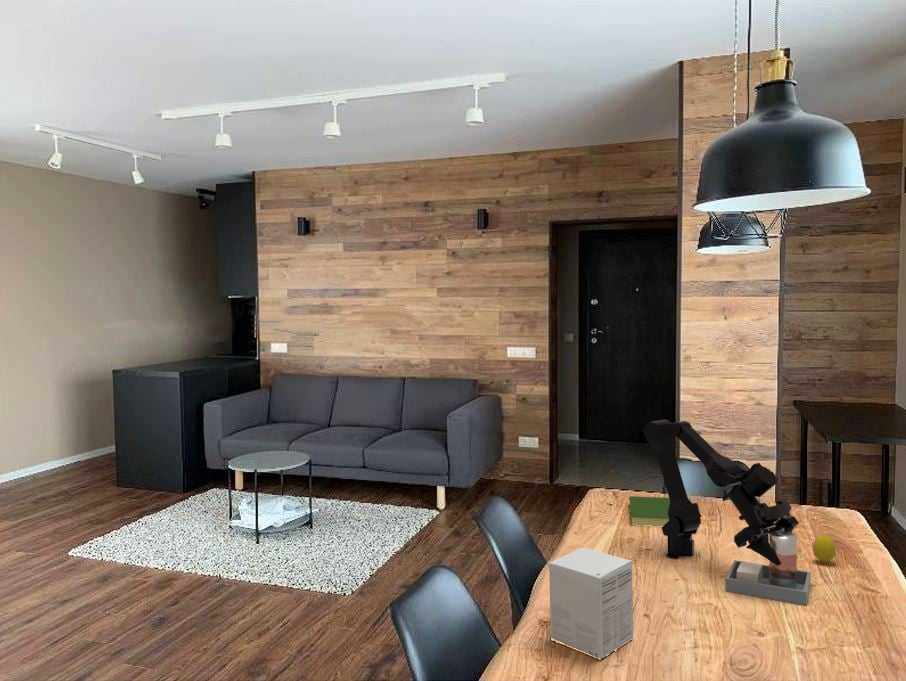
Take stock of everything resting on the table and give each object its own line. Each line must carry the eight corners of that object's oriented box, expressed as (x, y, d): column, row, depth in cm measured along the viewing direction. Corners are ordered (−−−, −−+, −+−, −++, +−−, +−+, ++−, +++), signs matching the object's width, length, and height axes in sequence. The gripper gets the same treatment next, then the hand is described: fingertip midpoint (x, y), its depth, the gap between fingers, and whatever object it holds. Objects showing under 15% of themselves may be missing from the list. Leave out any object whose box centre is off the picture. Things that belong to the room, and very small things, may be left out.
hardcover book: (691, 530, 223) (691, 518, 223) (631, 527, 228) (631, 516, 227) (683, 508, 248) (683, 497, 248) (629, 505, 252) (629, 495, 252)
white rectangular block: (736, 586, 175) (736, 571, 175) (741, 575, 182) (741, 560, 182) (758, 590, 173) (758, 574, 173) (762, 579, 180) (762, 564, 179)
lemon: (838, 567, 189) (838, 538, 188) (816, 566, 190) (816, 537, 189) (831, 559, 194) (831, 531, 194) (810, 558, 195) (810, 530, 195)
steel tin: (777, 592, 168) (778, 539, 168) (764, 582, 175) (764, 531, 174) (801, 591, 169) (802, 538, 168) (787, 581, 175) (787, 530, 174)
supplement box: (635, 639, 151) (634, 560, 150) (601, 662, 142) (599, 578, 141) (584, 620, 160) (582, 546, 160) (548, 641, 151) (547, 561, 150)
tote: (725, 594, 173) (725, 578, 173) (734, 575, 185) (734, 560, 185) (806, 608, 164) (806, 592, 164) (810, 587, 176) (810, 572, 176)
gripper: (744, 495, 169) (785, 554, 160) (792, 484, 179) (833, 538, 170) (717, 518, 177) (755, 576, 168) (764, 506, 186) (803, 560, 177)
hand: (787, 562), depth 170 cm, fingers closed on steel tin, 6 cm apart
